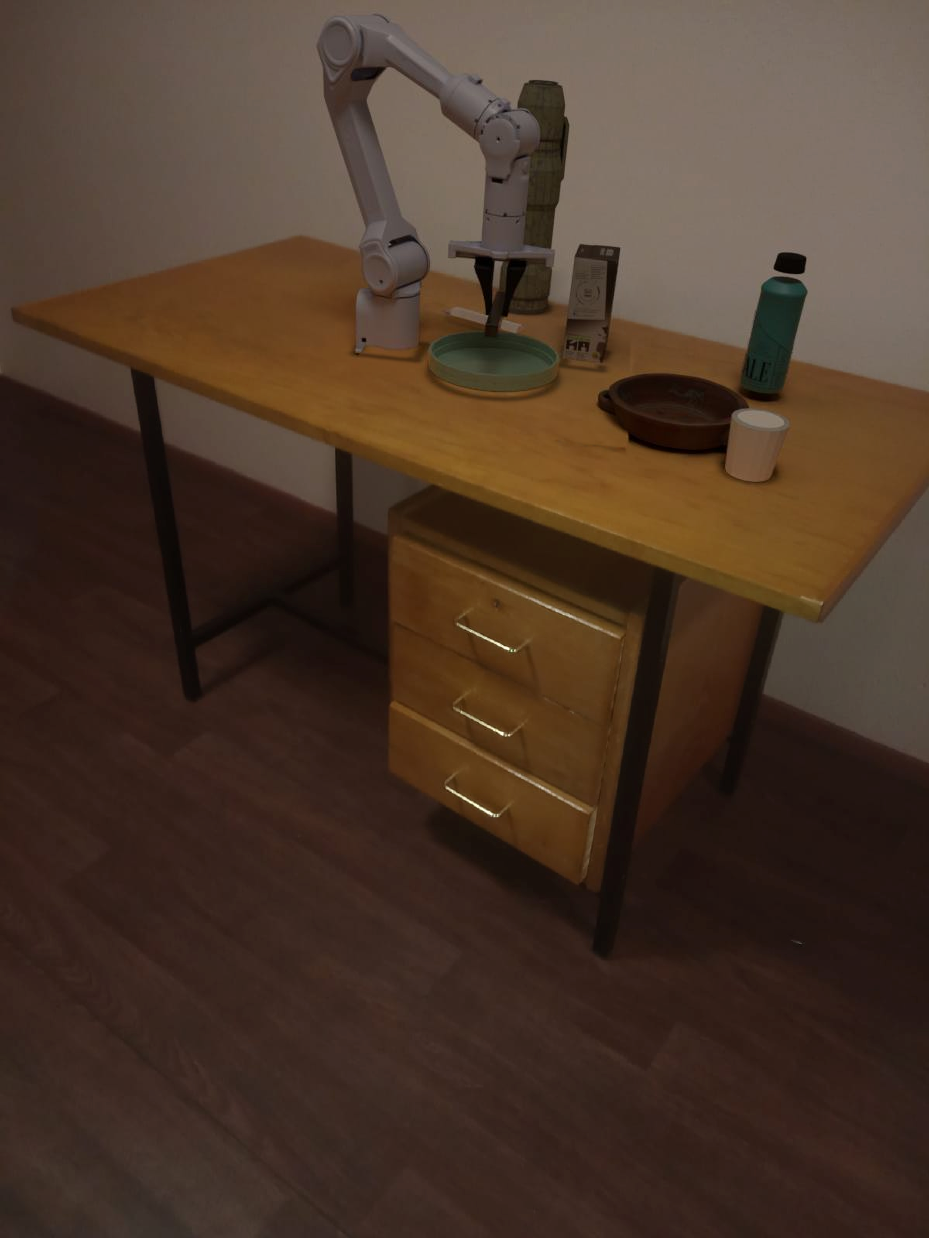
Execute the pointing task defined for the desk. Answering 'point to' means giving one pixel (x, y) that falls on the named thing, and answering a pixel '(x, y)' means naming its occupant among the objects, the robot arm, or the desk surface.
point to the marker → (482, 319)
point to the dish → (673, 409)
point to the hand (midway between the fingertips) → (496, 314)
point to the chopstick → (495, 316)
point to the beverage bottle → (775, 327)
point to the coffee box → (591, 302)
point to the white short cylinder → (755, 443)
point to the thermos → (541, 190)
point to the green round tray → (493, 361)
